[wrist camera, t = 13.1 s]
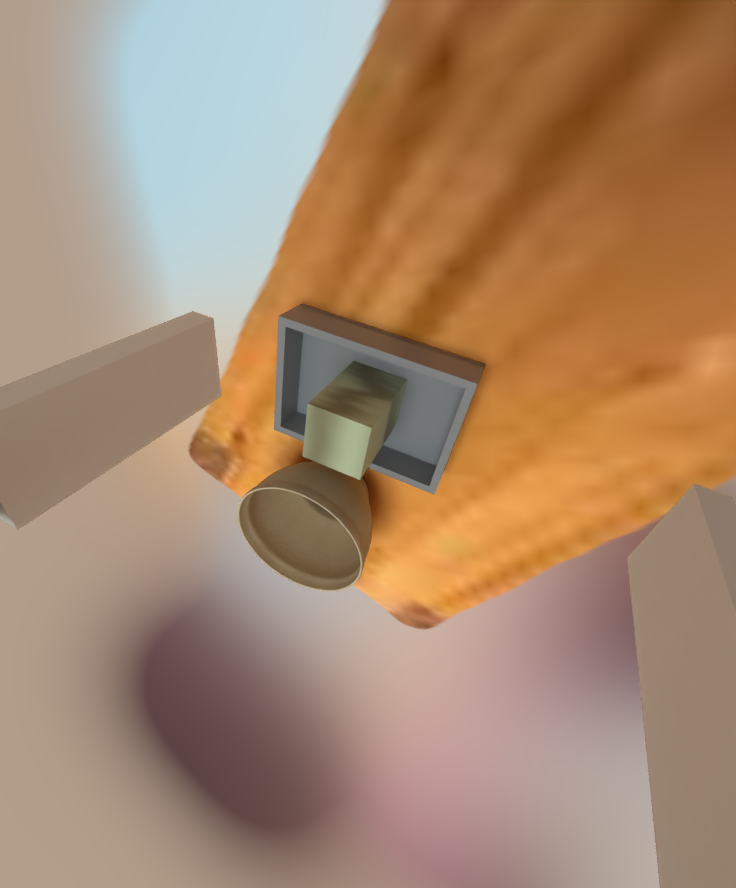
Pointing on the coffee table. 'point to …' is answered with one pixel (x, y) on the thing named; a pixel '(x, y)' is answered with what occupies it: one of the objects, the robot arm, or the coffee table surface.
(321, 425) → the olive block
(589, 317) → the coffee table surface
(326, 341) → the bin
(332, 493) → the planter bowl
